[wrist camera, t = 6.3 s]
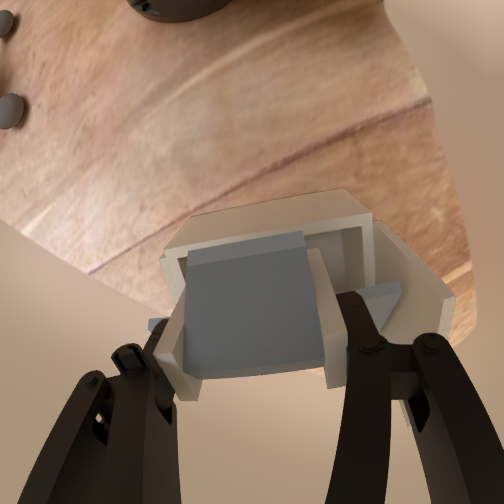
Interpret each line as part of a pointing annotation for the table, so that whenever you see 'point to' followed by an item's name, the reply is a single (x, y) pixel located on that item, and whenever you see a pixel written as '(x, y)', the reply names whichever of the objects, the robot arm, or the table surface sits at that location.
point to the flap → (258, 309)
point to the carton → (329, 255)
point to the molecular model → (10, 105)
